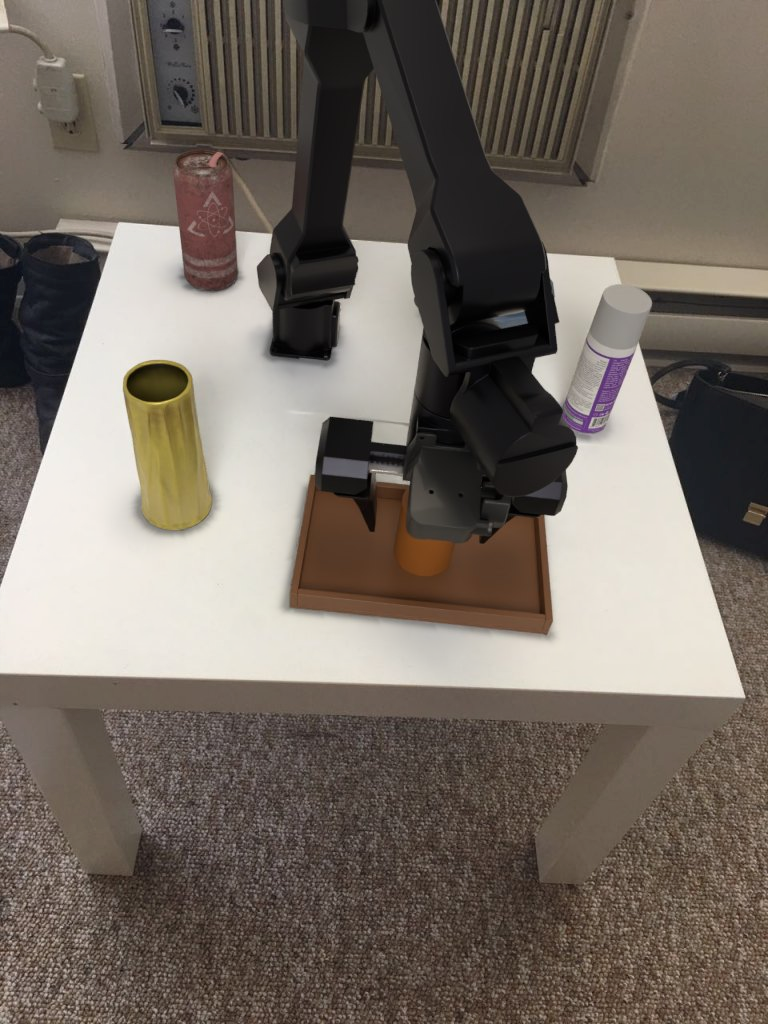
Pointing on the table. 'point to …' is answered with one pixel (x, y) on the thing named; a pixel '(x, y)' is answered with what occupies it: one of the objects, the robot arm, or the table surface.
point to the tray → (401, 595)
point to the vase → (167, 444)
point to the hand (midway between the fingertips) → (427, 533)
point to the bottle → (420, 549)
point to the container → (605, 357)
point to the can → (206, 219)
